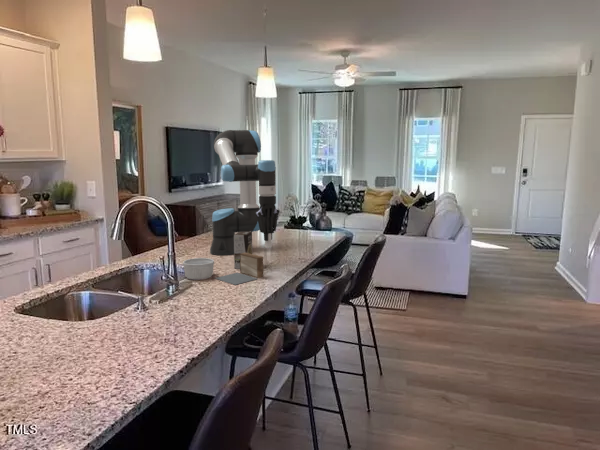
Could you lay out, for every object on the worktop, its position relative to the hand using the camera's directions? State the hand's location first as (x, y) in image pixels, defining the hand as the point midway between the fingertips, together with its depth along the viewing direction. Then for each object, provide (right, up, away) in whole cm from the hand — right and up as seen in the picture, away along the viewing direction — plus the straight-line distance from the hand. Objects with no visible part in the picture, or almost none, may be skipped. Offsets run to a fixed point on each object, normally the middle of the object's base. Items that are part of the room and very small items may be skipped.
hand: (268, 247), depth 201 cm
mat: (-13, -13, -11) cm, 21 cm away
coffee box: (-12, -10, +9) cm, 18 cm away
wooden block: (-7, -12, -5) cm, 15 cm away
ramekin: (-30, -12, -7) cm, 33 cm away
